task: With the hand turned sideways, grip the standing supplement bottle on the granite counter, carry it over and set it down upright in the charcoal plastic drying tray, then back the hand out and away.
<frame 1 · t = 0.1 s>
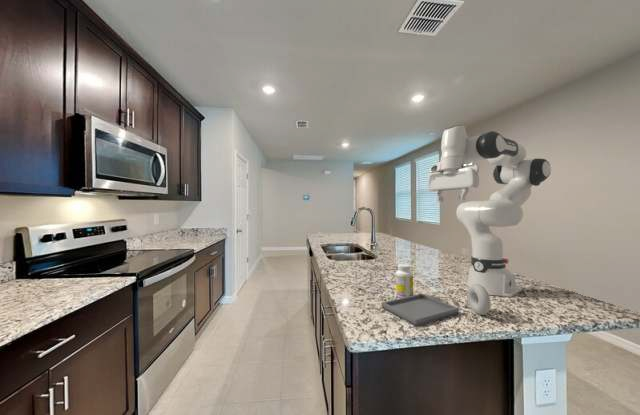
hand: (450, 201, 99), 39 cm above the counter, tool pointing down, fingers open, 8 cm apart
supplement bottle: (404, 296, 103), on the counter
drying tray: (418, 310, 89), on the counter
donut: (478, 314, 86), on the counter
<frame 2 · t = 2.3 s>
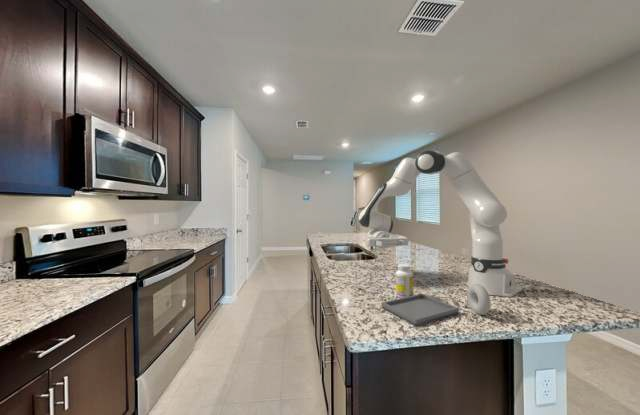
hand: (392, 243, 115), 20 cm above the counter, tool horizontal, fingers open, 8 cm apart
nothing on the counter moved.
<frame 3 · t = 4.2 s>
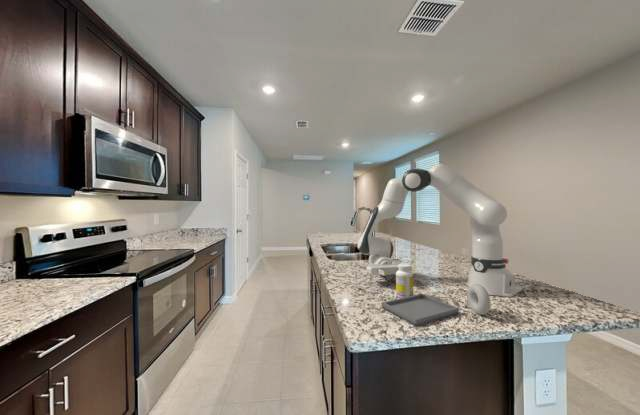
hand: (395, 273, 113), 7 cm above the counter, tool horizontal, fingers open, 8 cm apart
nothing on the counter moved.
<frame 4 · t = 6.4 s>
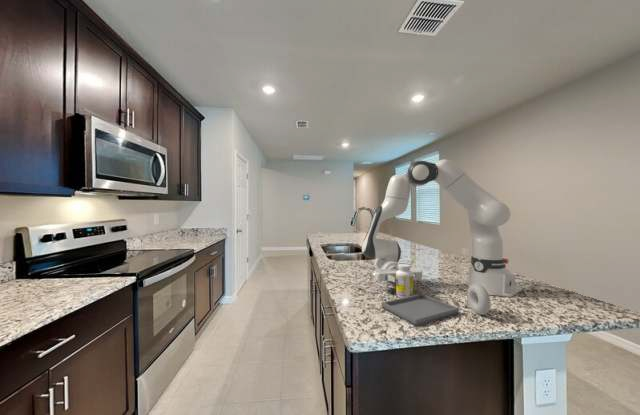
hand: (405, 279, 102), 7 cm above the counter, tool horizontal, fingers closed on supplement bottle, 7 cm apart
supplement bottle: (404, 296, 103), on the counter, touching gripper
everything else where it was.
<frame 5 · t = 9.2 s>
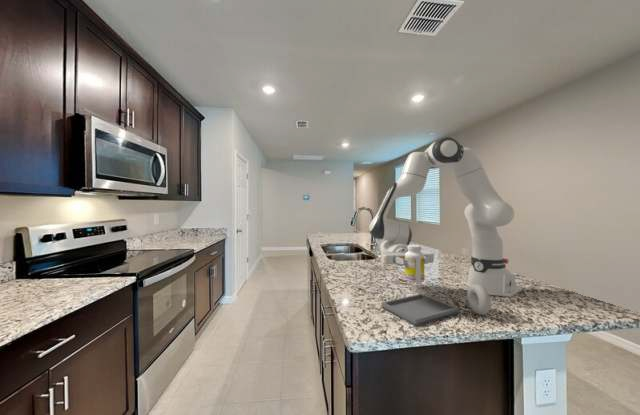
hand: (415, 261, 91), 17 cm above the counter, tool horizontal, fingers closed on supplement bottle, 7 cm apart
supplement bottle: (414, 281, 92), point 9 cm above the counter, touching gripper
everything else where it was.
when the fingers open (9 cm above the counter, at t = 11.9 s): supplement bottle drops 1 cm, resting on drying tray.
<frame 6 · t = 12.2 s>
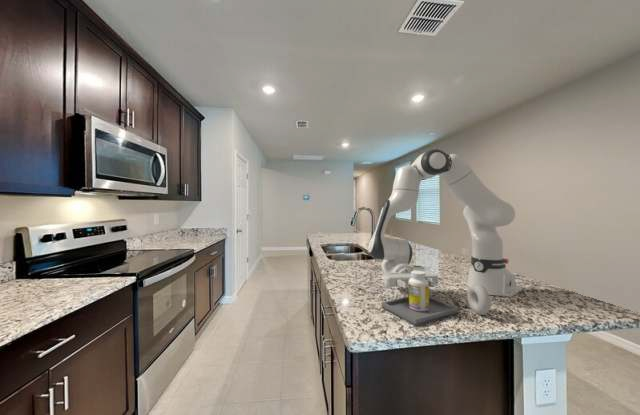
hand: (419, 285, 88), 9 cm above the counter, tool horizontal, fingers open, 8 cm apart
supplement bottle: (418, 309, 89), point 1 cm above the counter, touching drying tray
everything else where it was.
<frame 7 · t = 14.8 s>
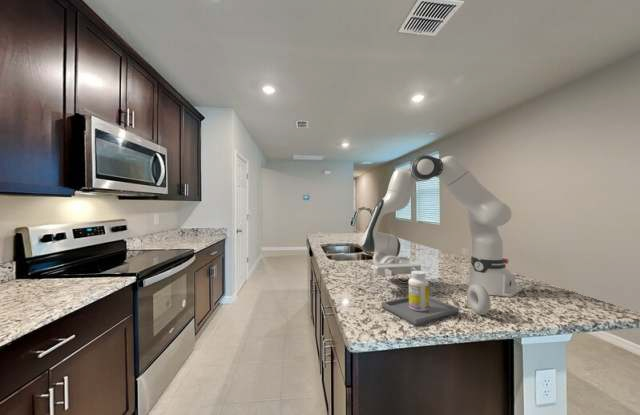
hand: (404, 273, 101), 10 cm above the counter, tool horizontal, fingers open, 8 cm apart
nothing on the counter moved.
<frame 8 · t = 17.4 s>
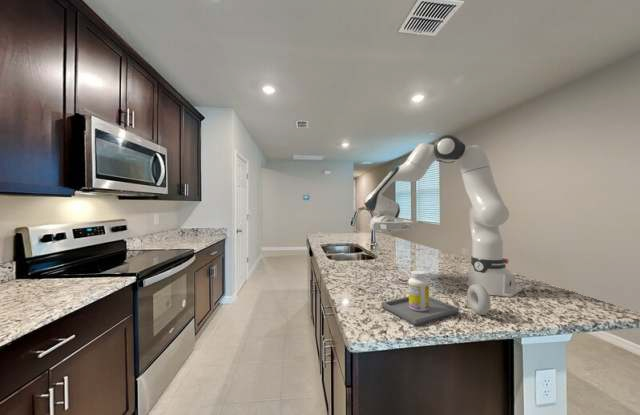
hand: (398, 226, 110), 28 cm above the counter, tool horizontal, fingers open, 8 cm apart
nothing on the counter moved.
at the end: supplement bottle inside the target area on the drying tray (0.0 cm from its centre), point 0.6 cm above the drying tray's base; supplement bottle tilted 0°; the gripper is holding nothing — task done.
